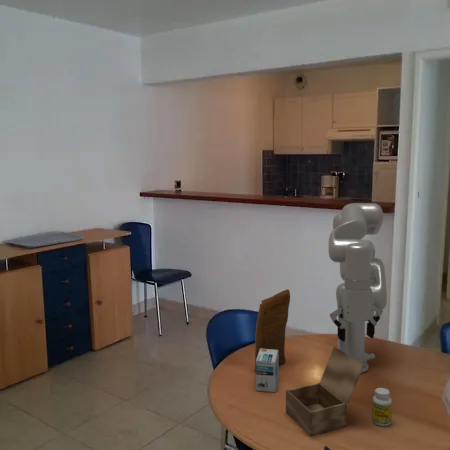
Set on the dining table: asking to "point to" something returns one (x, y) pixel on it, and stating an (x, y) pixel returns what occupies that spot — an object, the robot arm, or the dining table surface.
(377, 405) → the supplement bottle
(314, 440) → the dining table surface
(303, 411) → the wooden box
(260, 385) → the light bulb box
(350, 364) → the lid
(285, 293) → the pancake mix bag
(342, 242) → the robot arm
